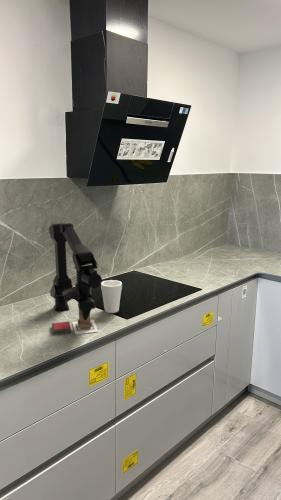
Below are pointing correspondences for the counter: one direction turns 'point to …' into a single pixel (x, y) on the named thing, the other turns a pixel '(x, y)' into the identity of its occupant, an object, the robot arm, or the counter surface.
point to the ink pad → (61, 328)
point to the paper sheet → (84, 330)
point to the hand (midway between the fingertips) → (84, 317)
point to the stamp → (84, 321)
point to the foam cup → (111, 295)
